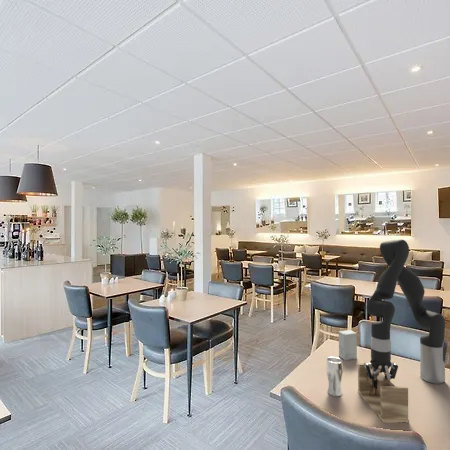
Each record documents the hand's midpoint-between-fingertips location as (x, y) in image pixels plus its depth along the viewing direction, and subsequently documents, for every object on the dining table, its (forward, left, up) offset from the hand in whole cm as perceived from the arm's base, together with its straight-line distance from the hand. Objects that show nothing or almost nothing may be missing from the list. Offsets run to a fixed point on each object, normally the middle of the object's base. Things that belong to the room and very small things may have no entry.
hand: (380, 387), depth 127 cm
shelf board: (0, 0, -1) cm, 1 cm away
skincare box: (-5, -46, -8) cm, 47 cm away
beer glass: (+16, -10, -8) cm, 20 cm away
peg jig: (0, 0, -7) cm, 7 cm away
